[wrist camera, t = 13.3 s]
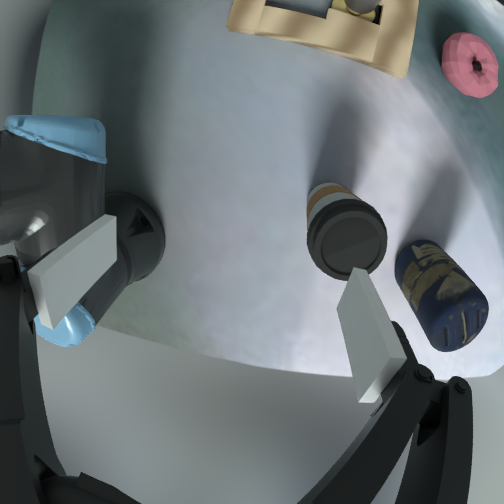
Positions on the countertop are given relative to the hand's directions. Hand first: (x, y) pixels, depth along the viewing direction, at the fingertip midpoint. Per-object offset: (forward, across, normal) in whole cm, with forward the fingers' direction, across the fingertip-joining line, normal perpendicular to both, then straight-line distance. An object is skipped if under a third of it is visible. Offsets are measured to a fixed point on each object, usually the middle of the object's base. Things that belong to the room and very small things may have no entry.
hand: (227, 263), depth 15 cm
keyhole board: (+26, +4, +27) cm, 38 cm away
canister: (+26, +28, -8) cm, 39 cm away
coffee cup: (+26, +10, -2) cm, 29 cm away
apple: (+26, +24, +25) cm, 44 cm away
